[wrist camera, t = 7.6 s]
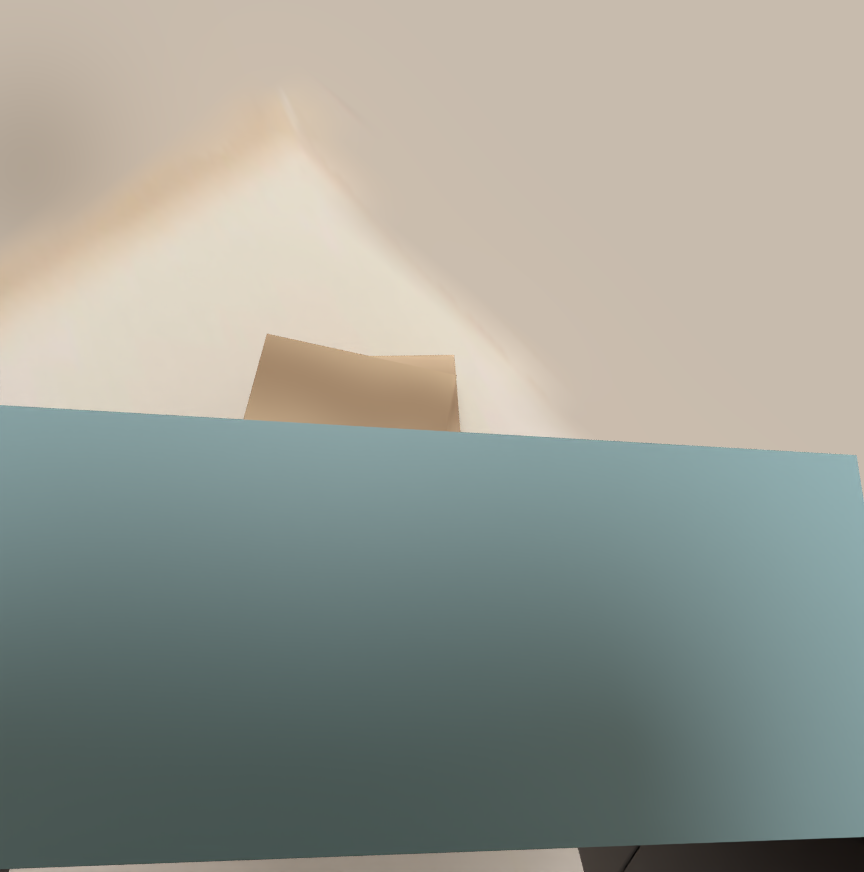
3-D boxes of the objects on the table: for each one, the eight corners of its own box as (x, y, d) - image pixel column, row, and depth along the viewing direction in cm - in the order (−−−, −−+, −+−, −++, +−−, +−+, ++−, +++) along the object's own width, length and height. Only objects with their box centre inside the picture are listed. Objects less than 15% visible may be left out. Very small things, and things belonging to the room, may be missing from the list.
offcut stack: (444, 517, 22) (475, 501, 17) (262, 508, 21) (228, 487, 16) (448, 390, 23) (478, 335, 18) (276, 377, 22) (250, 315, 17)
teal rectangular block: (445, 609, 16) (915, 833, 3) (232, 605, 15) (-686, 893, 2) (446, 546, 16) (856, 454, 3) (240, 540, 16) (-463, 377, 2)
